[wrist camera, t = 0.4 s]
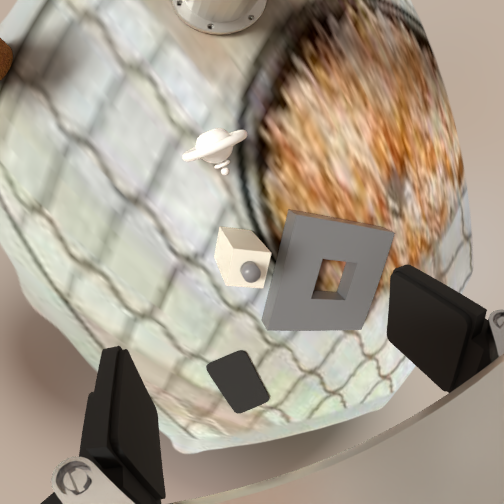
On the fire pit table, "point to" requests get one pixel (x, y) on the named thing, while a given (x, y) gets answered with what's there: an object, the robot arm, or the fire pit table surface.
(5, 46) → the disposable coffee cup
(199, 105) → the fire pit table surface
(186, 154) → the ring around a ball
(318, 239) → the socket plate
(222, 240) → the plug
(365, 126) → the fire pit table surface
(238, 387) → the phone
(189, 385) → the fire pit table surface
